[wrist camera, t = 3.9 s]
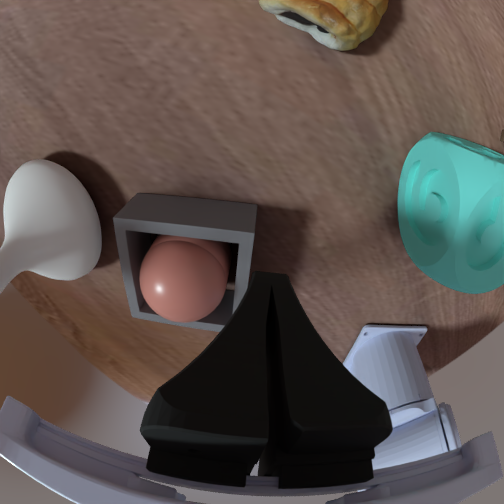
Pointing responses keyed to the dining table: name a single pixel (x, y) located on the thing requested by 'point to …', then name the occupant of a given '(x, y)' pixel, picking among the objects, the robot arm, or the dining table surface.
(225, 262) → the pop dome
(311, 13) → the pastry
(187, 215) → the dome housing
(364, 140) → the dining table surface
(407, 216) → the decorative dice
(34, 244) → the flower in vase
